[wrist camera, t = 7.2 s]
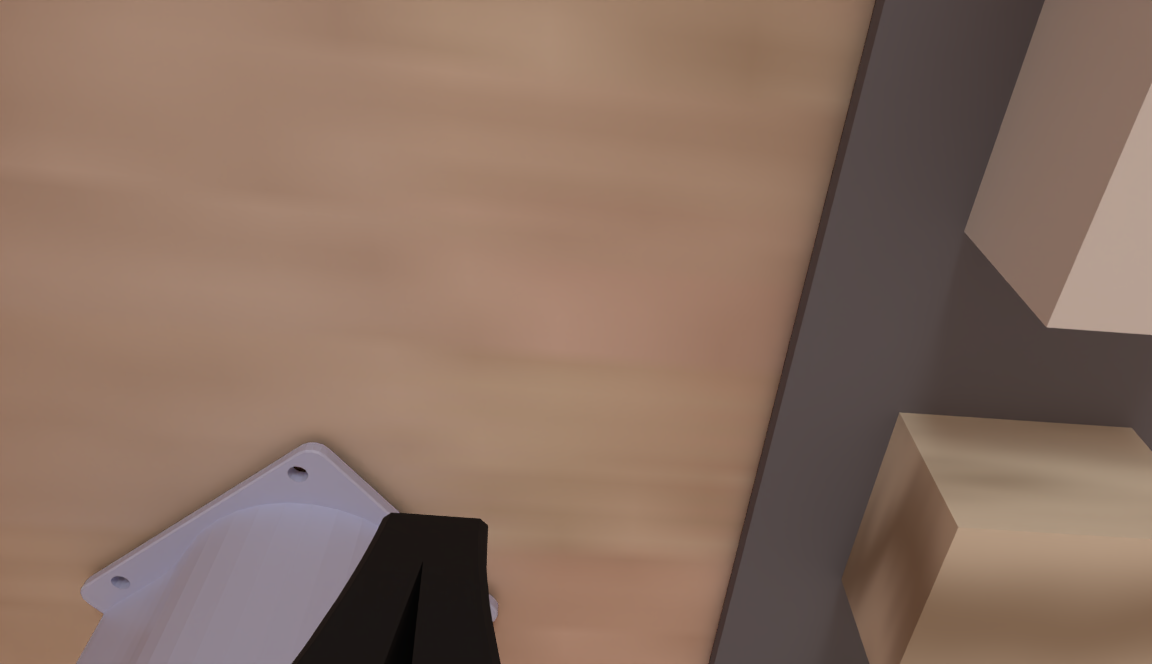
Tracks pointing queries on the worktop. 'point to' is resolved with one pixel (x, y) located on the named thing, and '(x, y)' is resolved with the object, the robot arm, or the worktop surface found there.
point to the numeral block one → (1076, 171)
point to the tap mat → (903, 324)
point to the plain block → (1005, 545)
